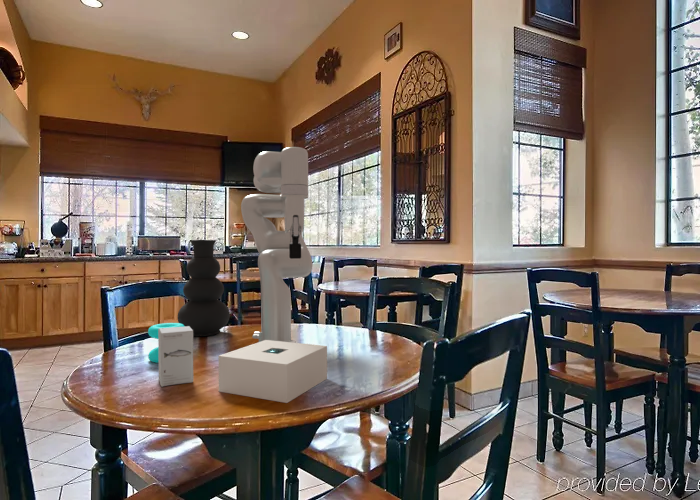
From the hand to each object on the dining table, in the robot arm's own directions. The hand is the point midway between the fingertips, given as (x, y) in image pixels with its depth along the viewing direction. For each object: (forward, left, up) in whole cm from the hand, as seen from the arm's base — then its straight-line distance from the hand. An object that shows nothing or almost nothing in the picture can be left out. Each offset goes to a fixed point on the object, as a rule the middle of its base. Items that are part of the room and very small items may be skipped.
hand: (295, 258), depth 121 cm
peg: (+6, -19, -29) cm, 35 cm away
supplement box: (-18, -26, -29) cm, 43 cm away
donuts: (-36, -12, -29) cm, 48 cm away
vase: (-52, +20, -29) cm, 63 cm away
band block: (+6, -19, -29) cm, 35 cm away
